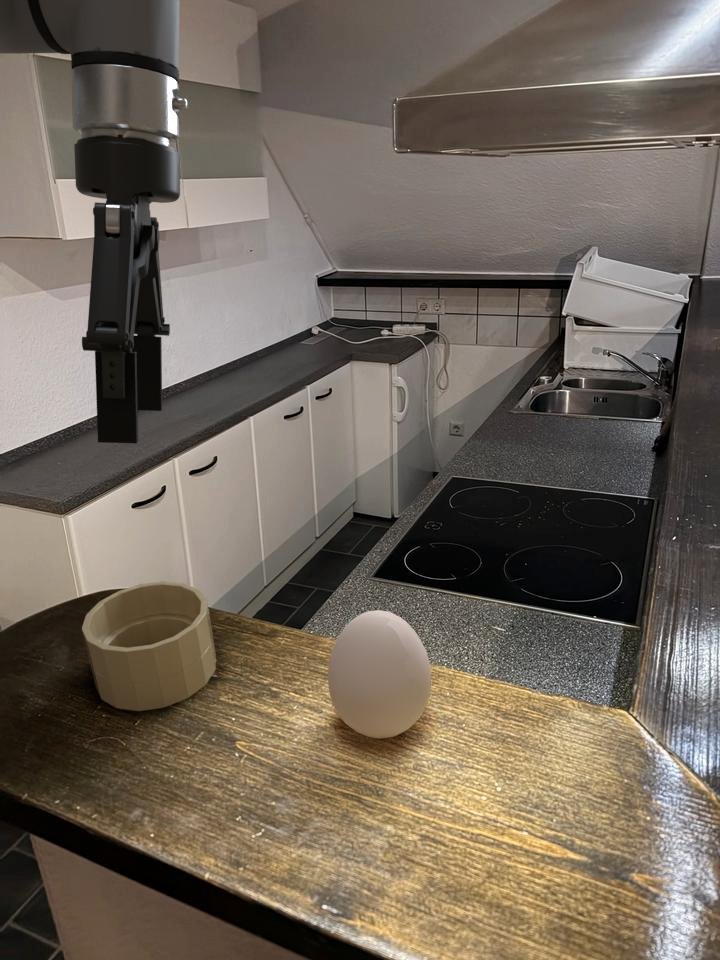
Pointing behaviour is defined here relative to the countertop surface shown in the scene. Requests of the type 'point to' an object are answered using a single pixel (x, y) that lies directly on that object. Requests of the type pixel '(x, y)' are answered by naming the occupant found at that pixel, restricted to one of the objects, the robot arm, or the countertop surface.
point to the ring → (150, 645)
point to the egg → (379, 675)
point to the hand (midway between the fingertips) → (133, 424)
